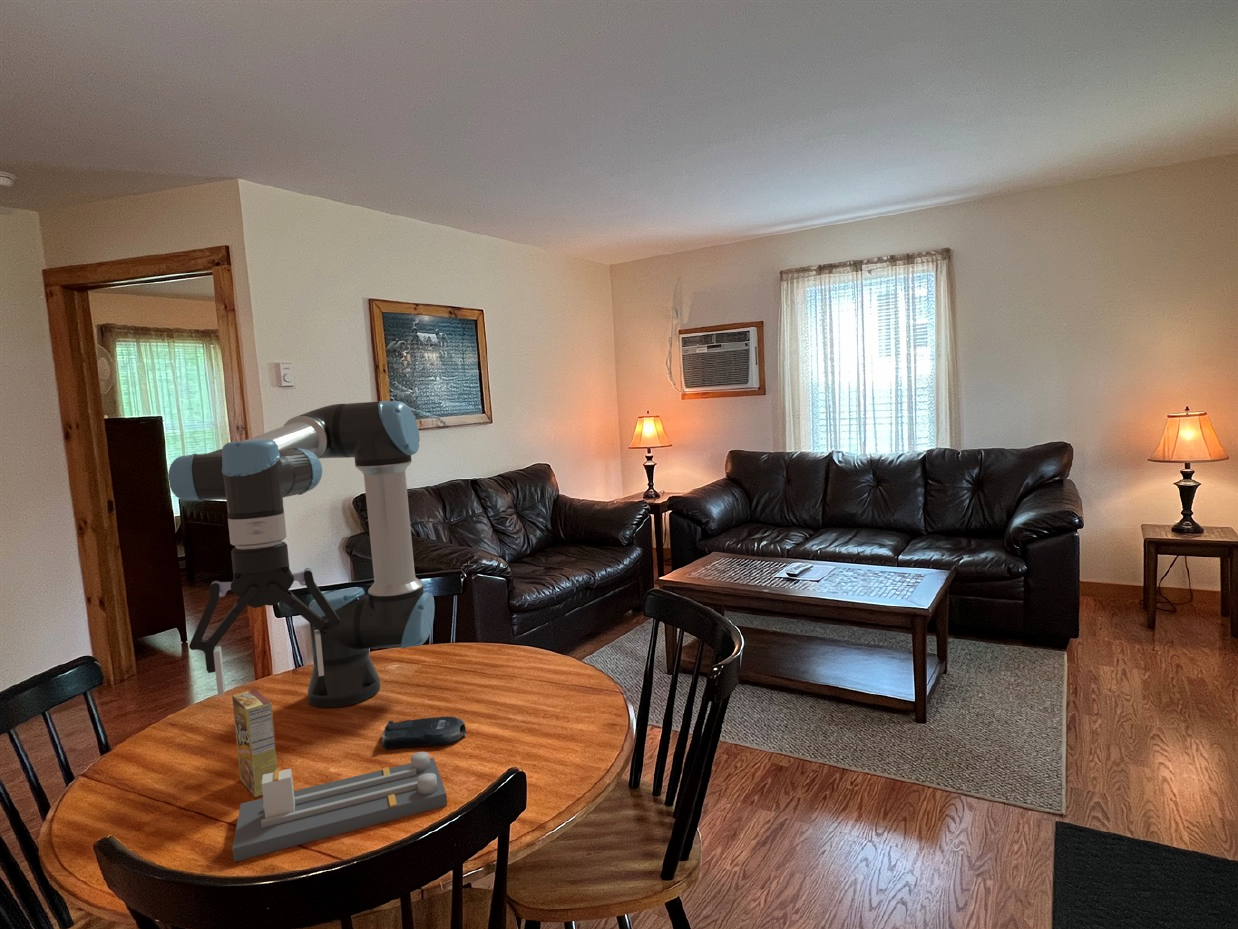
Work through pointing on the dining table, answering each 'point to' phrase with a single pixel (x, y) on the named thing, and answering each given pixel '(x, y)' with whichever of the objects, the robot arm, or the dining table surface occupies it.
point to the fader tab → (278, 793)
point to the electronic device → (423, 732)
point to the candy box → (254, 738)
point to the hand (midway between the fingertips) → (272, 682)
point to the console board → (341, 807)
